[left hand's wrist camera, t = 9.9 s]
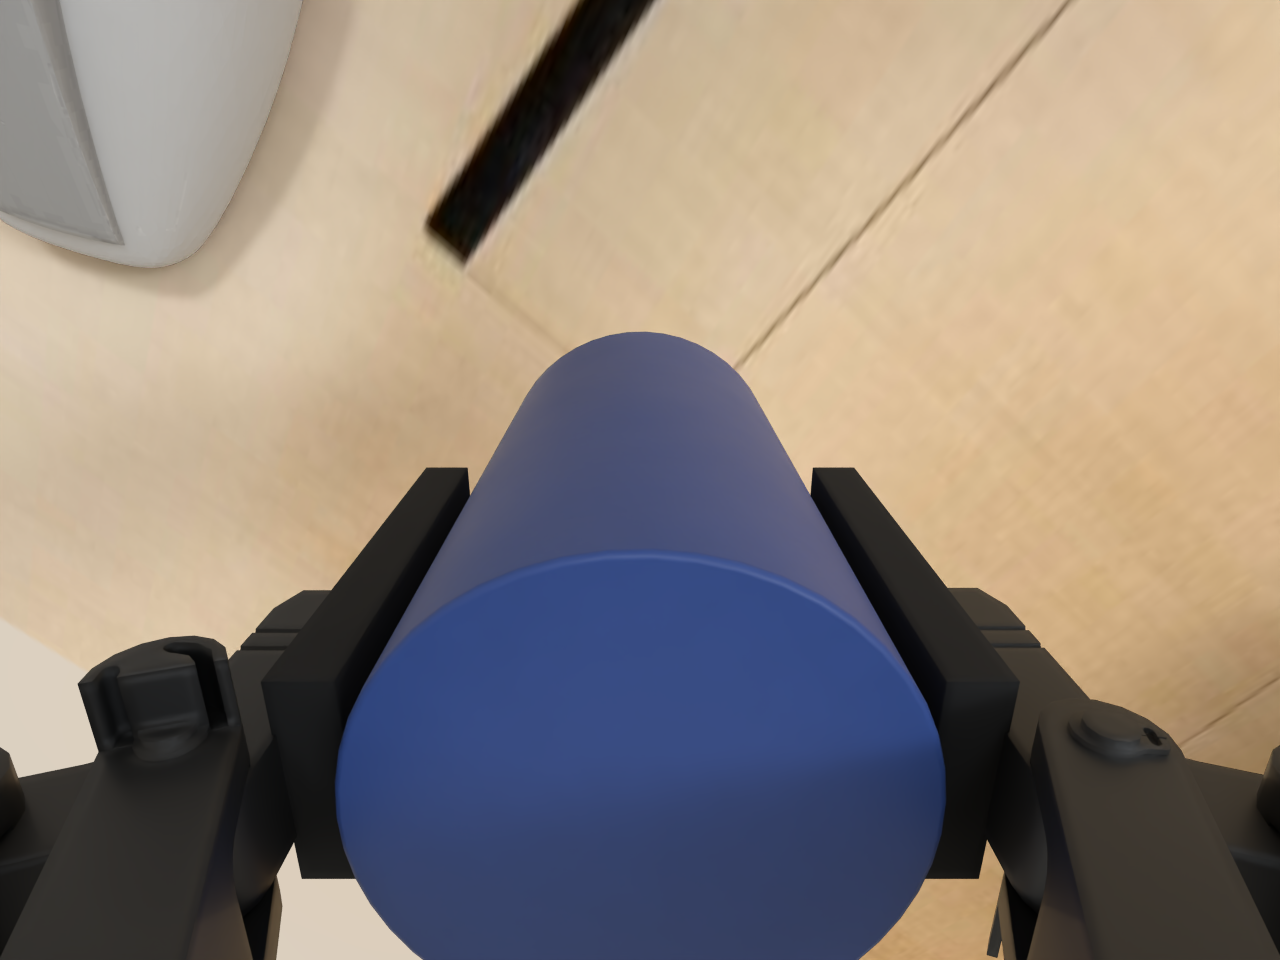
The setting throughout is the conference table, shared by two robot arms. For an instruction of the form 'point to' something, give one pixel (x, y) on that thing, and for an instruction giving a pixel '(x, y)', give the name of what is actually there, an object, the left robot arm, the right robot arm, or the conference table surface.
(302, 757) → the left robot arm
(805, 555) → the can
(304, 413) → the conference table surface
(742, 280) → the conference table surface
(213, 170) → the projector
